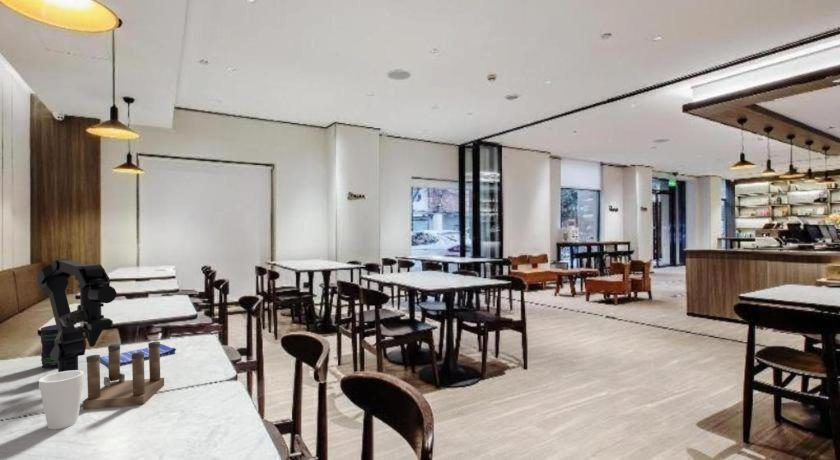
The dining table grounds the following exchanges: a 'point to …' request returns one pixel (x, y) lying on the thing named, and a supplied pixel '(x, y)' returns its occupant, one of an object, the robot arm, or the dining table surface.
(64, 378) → the foam cup
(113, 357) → the hinged leg
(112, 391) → the stool
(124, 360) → the dish towel
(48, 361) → the storage jar
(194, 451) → the dining table surface
